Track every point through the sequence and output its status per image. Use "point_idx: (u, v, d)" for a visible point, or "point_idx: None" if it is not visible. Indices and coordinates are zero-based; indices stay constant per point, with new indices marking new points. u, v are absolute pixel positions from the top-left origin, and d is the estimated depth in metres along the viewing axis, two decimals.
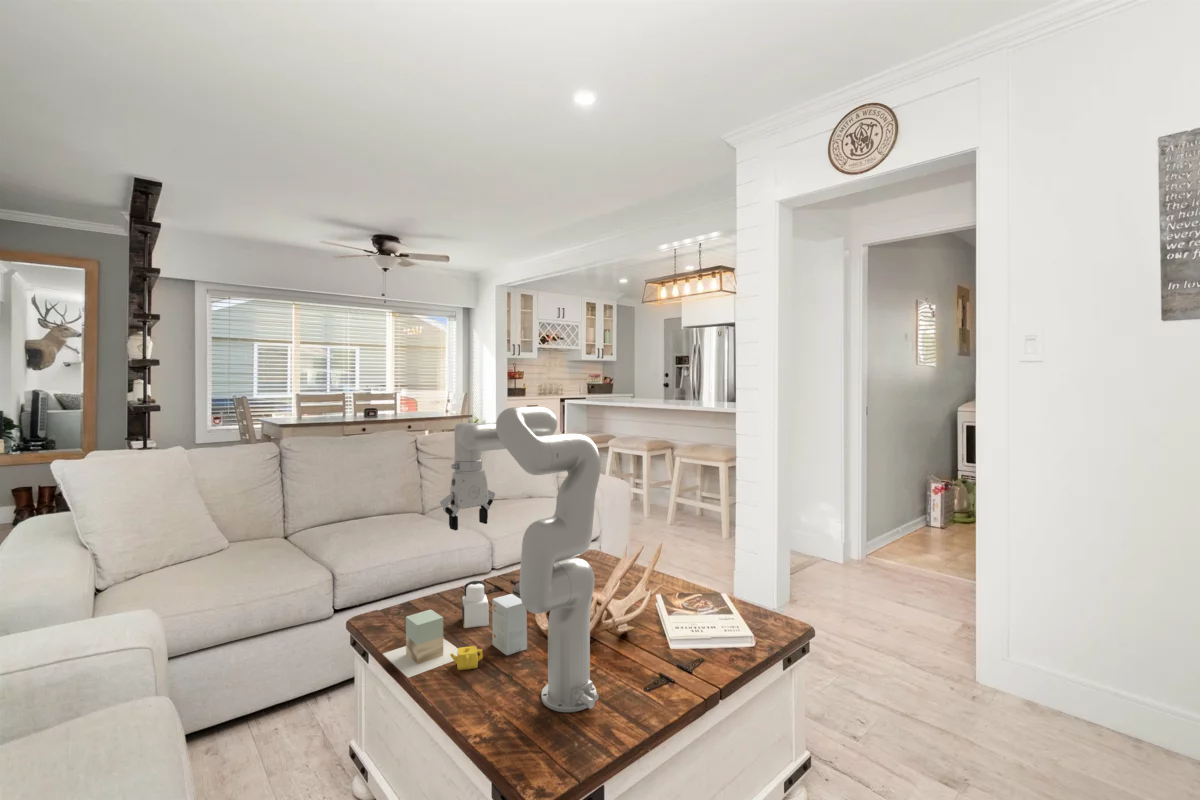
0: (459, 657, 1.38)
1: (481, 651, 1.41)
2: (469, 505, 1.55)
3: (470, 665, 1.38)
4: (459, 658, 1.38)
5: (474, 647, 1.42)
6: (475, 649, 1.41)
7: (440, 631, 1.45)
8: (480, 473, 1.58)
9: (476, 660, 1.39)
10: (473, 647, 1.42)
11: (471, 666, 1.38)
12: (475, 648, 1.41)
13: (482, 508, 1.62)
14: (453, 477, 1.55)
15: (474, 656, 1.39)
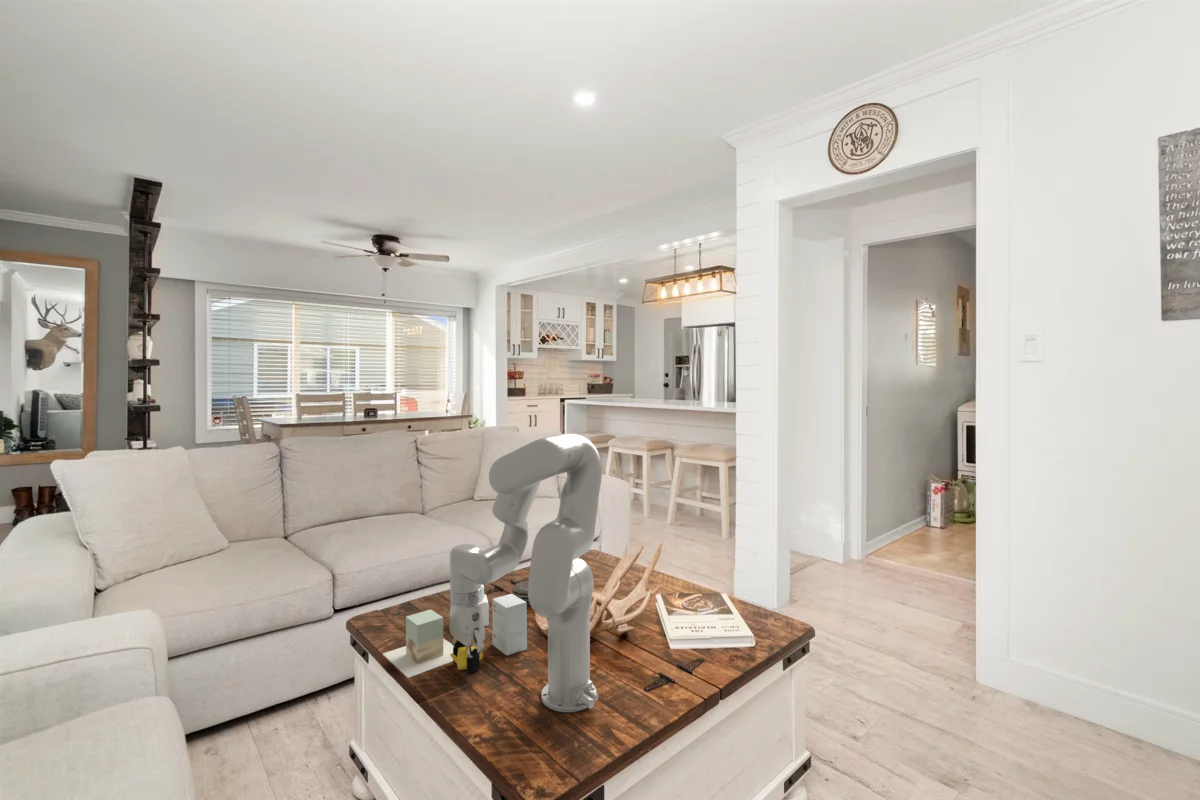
0: (459, 657, 1.38)
1: (481, 651, 1.41)
2: None
3: None
4: (459, 658, 1.38)
5: (474, 647, 1.41)
6: None
7: (440, 631, 1.45)
8: None
9: None
10: (473, 647, 1.41)
11: None
12: None
13: (459, 643, 1.42)
14: (473, 612, 1.35)
15: None
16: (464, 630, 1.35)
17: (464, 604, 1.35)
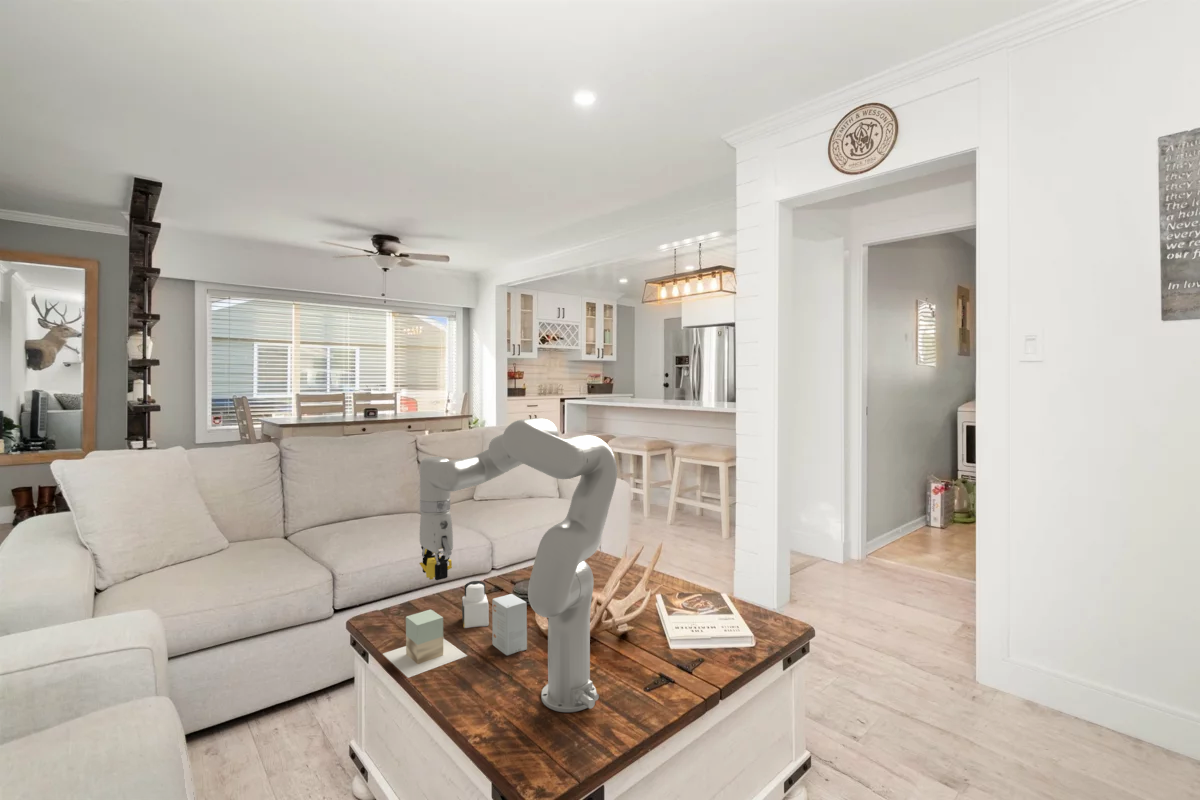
0: (428, 565, 1.41)
1: (450, 561, 1.44)
2: None
3: None
4: (428, 566, 1.41)
5: None
6: None
7: (440, 631, 1.45)
8: None
9: None
10: None
11: None
12: None
13: (429, 554, 1.45)
14: (441, 520, 1.39)
15: None
16: (432, 537, 1.39)
17: (433, 512, 1.39)
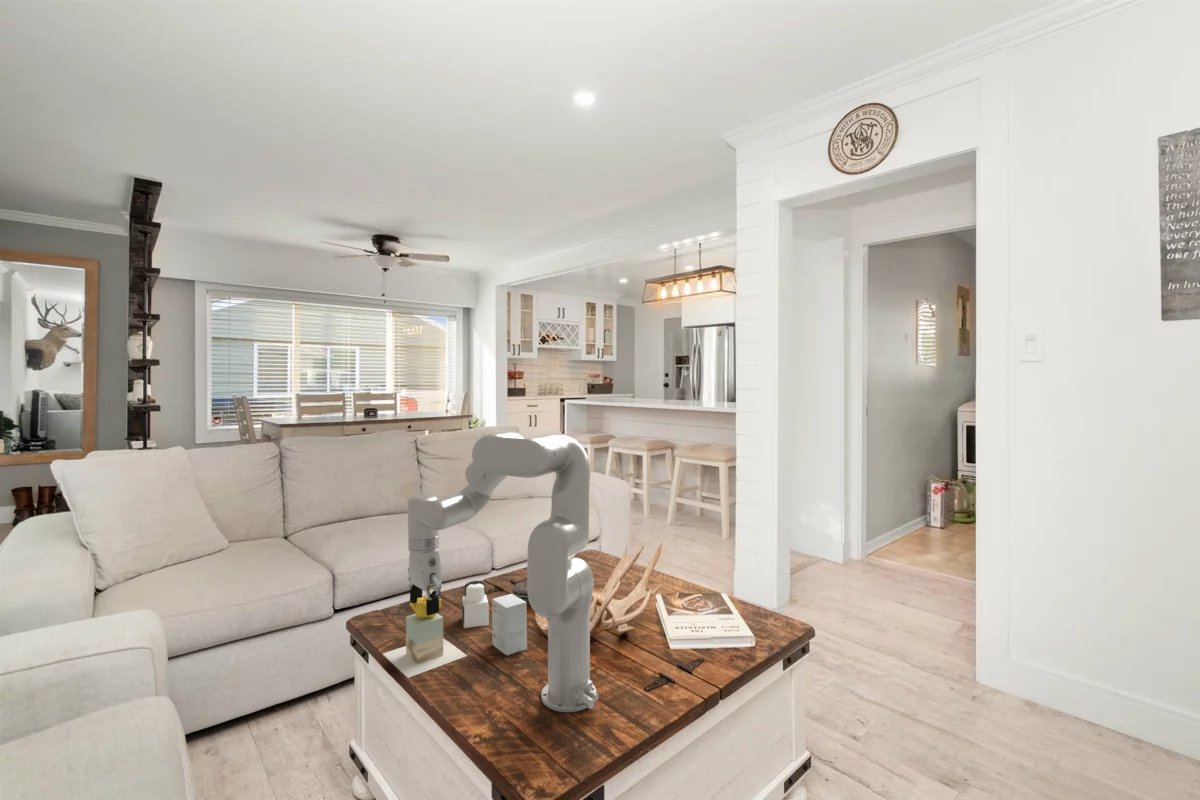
0: (418, 606, 1.43)
1: (439, 601, 1.46)
2: None
3: None
4: (417, 606, 1.43)
5: None
6: None
7: (440, 631, 1.45)
8: None
9: None
10: None
11: (429, 615, 1.44)
12: None
13: (416, 587, 1.49)
14: (430, 557, 1.41)
15: None
16: (421, 575, 1.41)
17: (421, 550, 1.41)
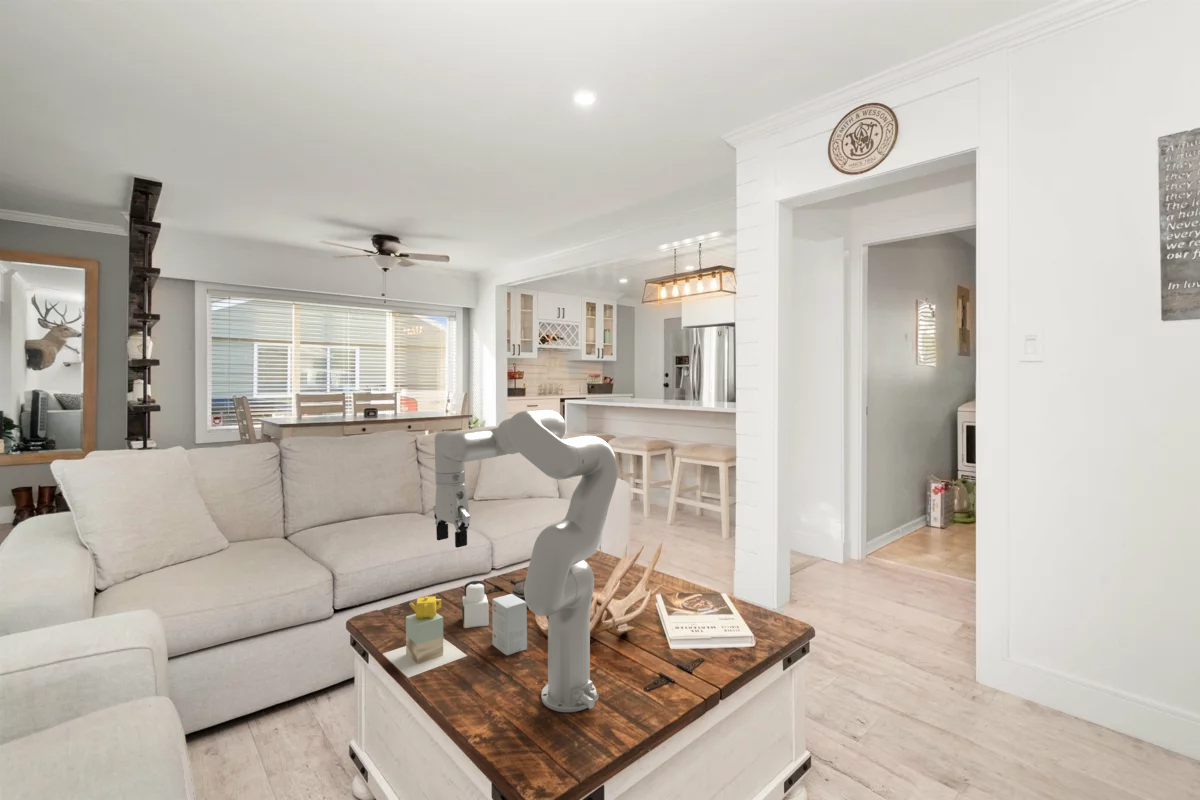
0: (418, 606, 1.43)
1: (439, 601, 1.46)
2: None
3: (428, 613, 1.44)
4: (417, 606, 1.43)
5: (433, 597, 1.47)
6: (434, 599, 1.46)
7: (440, 631, 1.45)
8: None
9: (434, 609, 1.44)
10: (432, 597, 1.47)
11: (429, 615, 1.44)
12: (434, 598, 1.47)
13: (442, 523, 1.51)
14: (458, 490, 1.44)
15: (432, 604, 1.44)
16: (449, 508, 1.43)
17: (449, 483, 1.43)
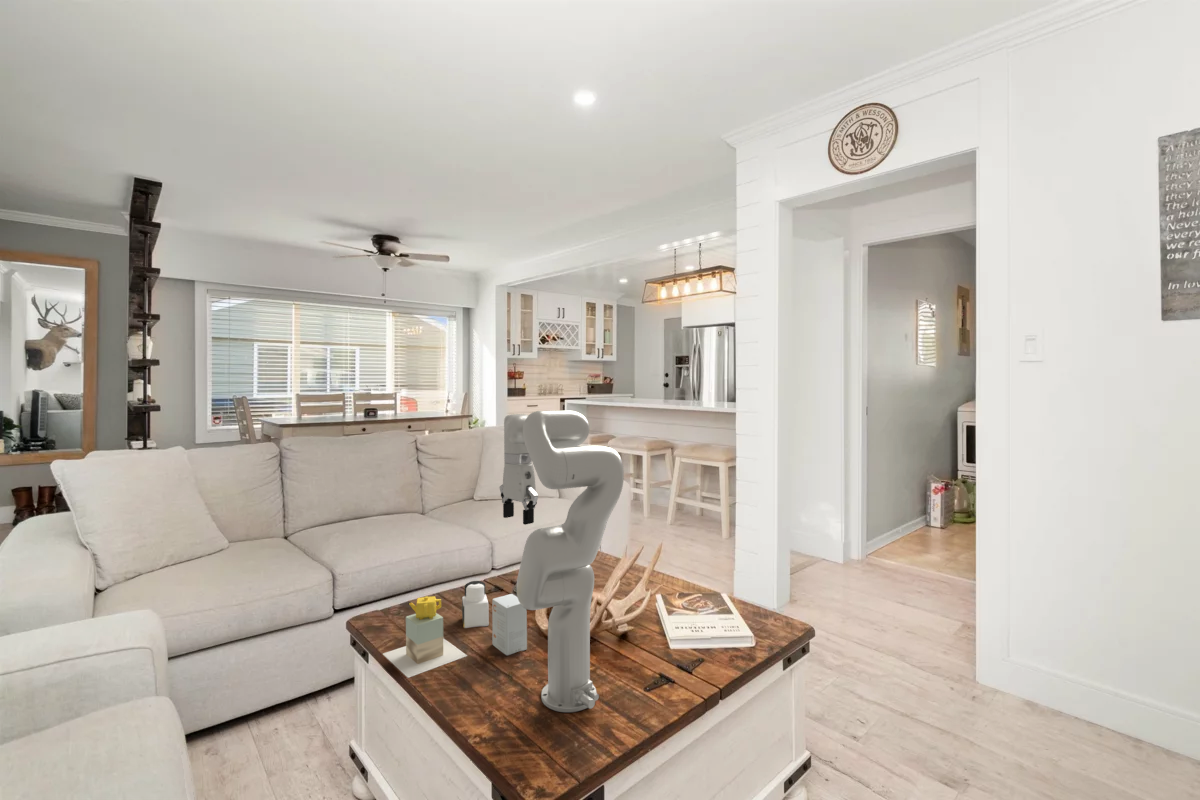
0: (418, 606, 1.43)
1: (439, 601, 1.46)
2: None
3: (428, 613, 1.44)
4: (417, 606, 1.43)
5: (433, 597, 1.47)
6: (434, 599, 1.46)
7: (440, 631, 1.45)
8: None
9: (434, 609, 1.44)
10: (432, 597, 1.47)
11: (429, 615, 1.44)
12: (434, 598, 1.47)
13: (508, 502, 1.58)
14: (526, 470, 1.51)
15: (432, 604, 1.44)
16: (518, 487, 1.51)
17: (518, 463, 1.51)
